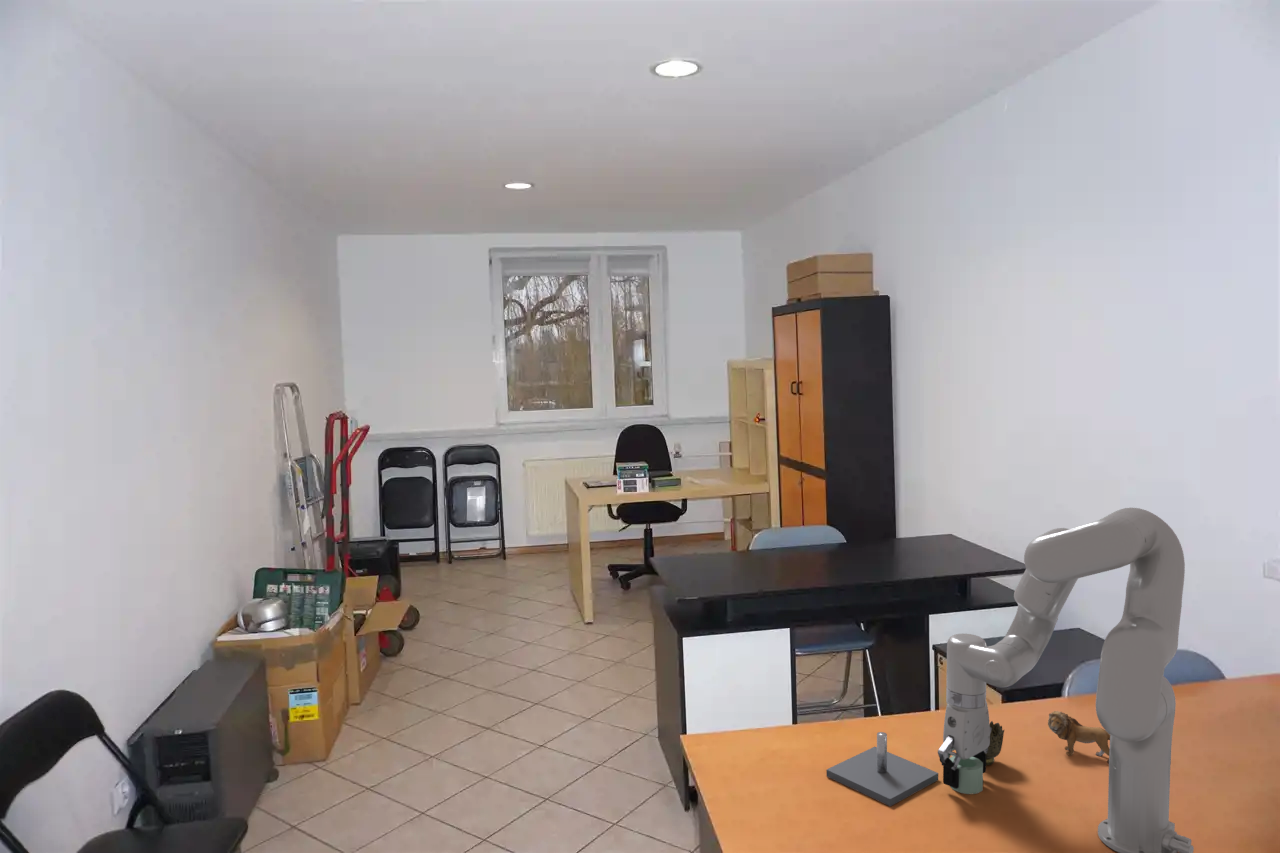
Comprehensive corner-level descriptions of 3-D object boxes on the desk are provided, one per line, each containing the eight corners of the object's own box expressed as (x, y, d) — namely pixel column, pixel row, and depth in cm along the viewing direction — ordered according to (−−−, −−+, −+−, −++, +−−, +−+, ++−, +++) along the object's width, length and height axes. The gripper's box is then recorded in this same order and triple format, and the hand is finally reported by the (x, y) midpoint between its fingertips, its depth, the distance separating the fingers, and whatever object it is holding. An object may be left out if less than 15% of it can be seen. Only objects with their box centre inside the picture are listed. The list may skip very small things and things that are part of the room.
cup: (1006, 771, 188) (1007, 735, 187) (969, 769, 189) (969, 732, 188) (1000, 755, 195) (1000, 719, 194) (964, 753, 196) (964, 718, 196)
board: (938, 779, 185) (938, 773, 185) (890, 806, 175) (890, 799, 175) (874, 753, 198) (874, 746, 198) (826, 776, 188) (826, 769, 188)
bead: (988, 786, 182) (989, 763, 181) (971, 797, 178) (971, 773, 177) (960, 775, 187) (960, 752, 186) (942, 785, 183) (942, 761, 182)
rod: (889, 771, 186) (888, 734, 185) (882, 774, 185) (882, 737, 184) (881, 767, 188) (880, 731, 187) (875, 771, 187) (874, 733, 186)
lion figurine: (1047, 755, 195) (1047, 714, 194) (1047, 744, 199) (1048, 705, 199) (1124, 767, 188) (1125, 725, 187) (1122, 756, 193) (1123, 715, 192)
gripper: (958, 714, 172) (956, 799, 174) (1006, 691, 183) (1005, 771, 185) (924, 702, 178) (923, 784, 180) (973, 680, 189) (972, 758, 191)
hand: (964, 778), depth 182 cm, fingers open, 9 cm apart
